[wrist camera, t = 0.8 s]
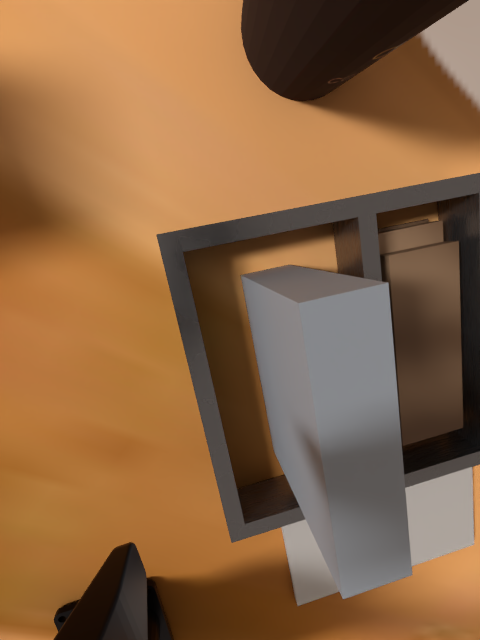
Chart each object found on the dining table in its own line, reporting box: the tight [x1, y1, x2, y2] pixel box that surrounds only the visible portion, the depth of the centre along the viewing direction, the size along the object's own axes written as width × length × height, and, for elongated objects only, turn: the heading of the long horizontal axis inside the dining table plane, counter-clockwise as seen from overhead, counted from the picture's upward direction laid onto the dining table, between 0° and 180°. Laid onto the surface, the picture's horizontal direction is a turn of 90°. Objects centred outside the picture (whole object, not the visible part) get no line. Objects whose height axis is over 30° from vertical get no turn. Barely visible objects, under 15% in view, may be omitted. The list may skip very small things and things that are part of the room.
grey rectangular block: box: [241, 265, 412, 599], centre depth 17 cm, size 12×3×10 cm, turn 11°
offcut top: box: [380, 241, 463, 446], centre depth 21 cm, size 12×4×1 cm, turn 10°
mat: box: [281, 467, 474, 606], centre depth 26 cm, size 8×15×1 cm, turn 101°
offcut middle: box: [378, 221, 443, 255], centre depth 22 cm, size 13×4×1 cm, turn 11°
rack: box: [157, 173, 480, 542], centre depth 21 cm, size 18×18×3 cm
